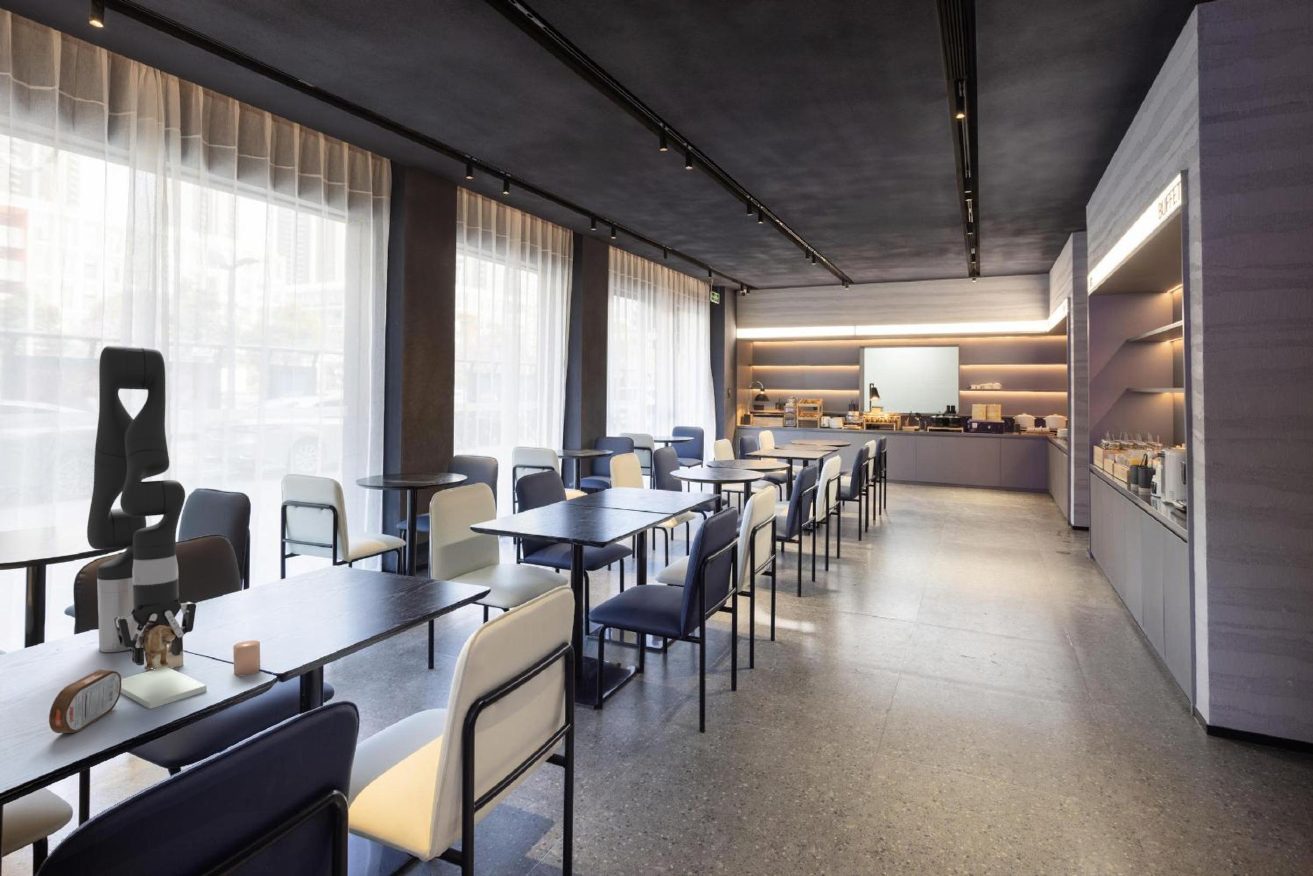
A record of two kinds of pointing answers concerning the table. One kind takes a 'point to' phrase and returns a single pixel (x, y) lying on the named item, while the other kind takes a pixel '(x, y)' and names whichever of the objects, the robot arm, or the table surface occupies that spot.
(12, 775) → the table surface
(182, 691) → the sage board
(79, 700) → the tin
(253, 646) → the peach rounded cylinder
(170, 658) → the birch block
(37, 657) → the table surface
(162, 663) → the lion figurine
